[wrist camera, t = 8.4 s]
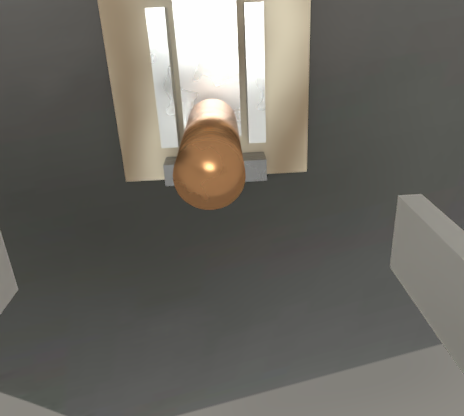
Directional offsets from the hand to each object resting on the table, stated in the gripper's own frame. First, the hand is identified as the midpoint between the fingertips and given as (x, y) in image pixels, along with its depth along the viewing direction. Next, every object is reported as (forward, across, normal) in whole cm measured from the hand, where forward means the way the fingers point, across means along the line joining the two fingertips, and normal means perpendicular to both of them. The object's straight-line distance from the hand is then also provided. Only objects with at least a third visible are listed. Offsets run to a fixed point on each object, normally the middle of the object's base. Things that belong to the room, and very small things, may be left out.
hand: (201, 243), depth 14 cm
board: (+20, 0, +3) cm, 20 cm away
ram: (+19, 0, +4) cm, 19 cm away
